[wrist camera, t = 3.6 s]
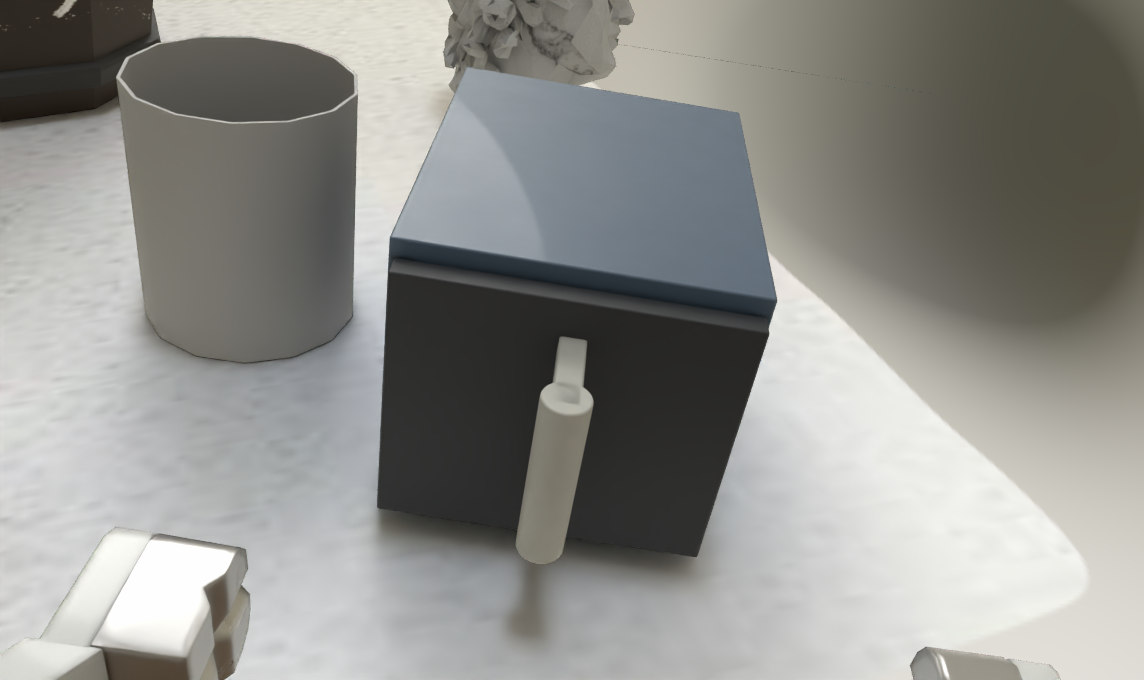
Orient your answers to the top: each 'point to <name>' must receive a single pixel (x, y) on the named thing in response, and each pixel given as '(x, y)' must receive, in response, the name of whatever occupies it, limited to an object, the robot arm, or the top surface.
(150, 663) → the robot arm
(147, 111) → the cup
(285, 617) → the top surface
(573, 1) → the bust
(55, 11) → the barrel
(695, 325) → the drawer with handle
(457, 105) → the blue cabinet
